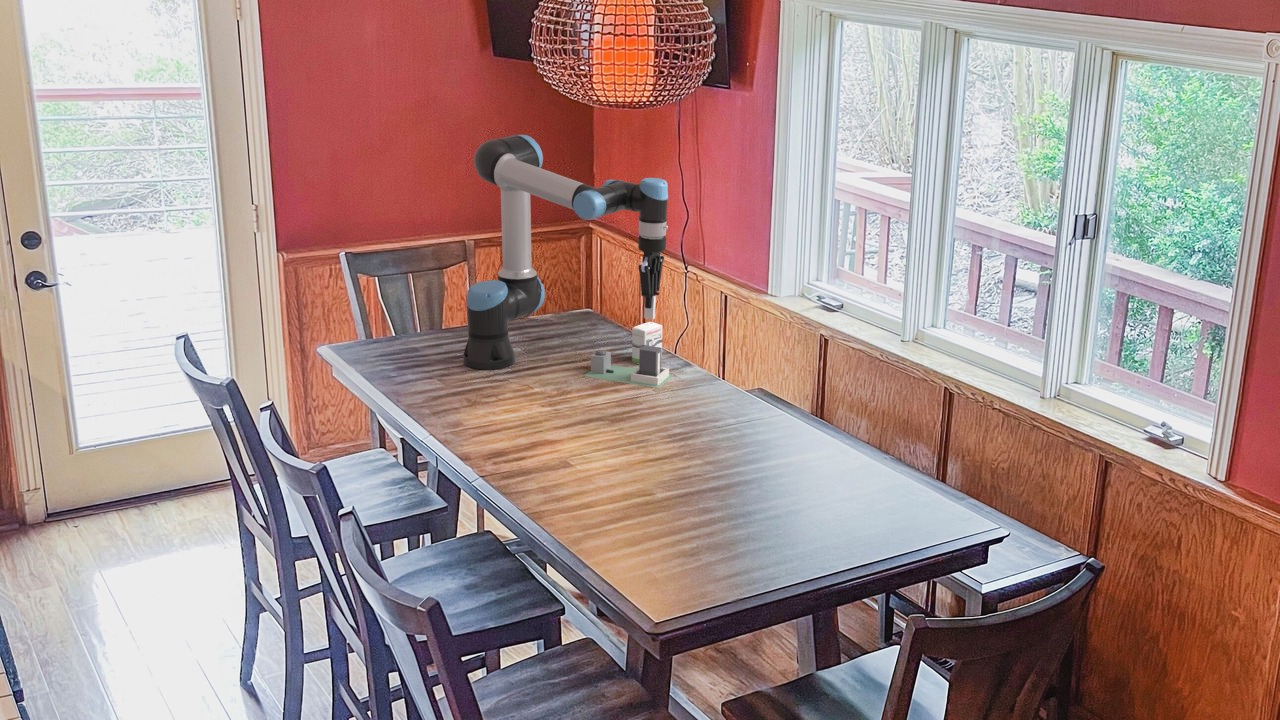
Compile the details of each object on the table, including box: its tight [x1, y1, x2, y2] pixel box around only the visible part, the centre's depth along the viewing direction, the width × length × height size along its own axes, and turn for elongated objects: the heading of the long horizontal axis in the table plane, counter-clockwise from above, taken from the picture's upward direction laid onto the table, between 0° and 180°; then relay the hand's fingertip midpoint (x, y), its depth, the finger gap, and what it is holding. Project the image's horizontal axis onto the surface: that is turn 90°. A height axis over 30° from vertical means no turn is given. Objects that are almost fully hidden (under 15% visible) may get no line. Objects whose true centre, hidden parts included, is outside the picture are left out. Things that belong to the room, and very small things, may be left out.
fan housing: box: [590, 349, 614, 374], centre depth 358 cm, size 6×5×6 cm
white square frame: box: [631, 367, 670, 386], centre depth 353 cm, size 8×9×2 cm
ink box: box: [631, 321, 663, 365], centre depth 367 cm, size 9×5×12 cm, turn 140°
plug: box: [638, 345, 662, 377], centre depth 352 cm, size 5×4×9 cm
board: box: [583, 364, 674, 389], centre depth 356 cm, size 23×12×1 cm, turn 67°
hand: (649, 318), depth 347 cm, fingers closed
